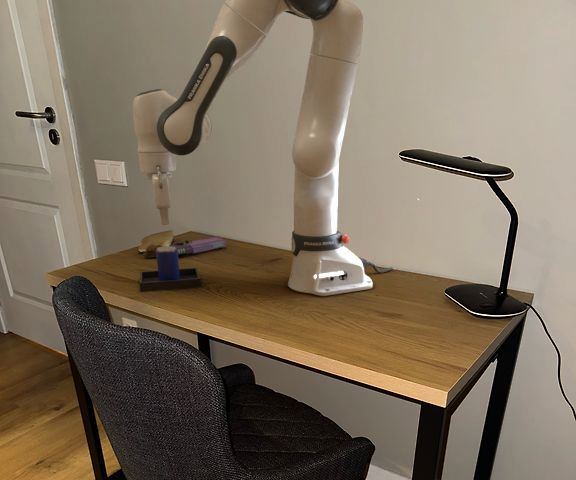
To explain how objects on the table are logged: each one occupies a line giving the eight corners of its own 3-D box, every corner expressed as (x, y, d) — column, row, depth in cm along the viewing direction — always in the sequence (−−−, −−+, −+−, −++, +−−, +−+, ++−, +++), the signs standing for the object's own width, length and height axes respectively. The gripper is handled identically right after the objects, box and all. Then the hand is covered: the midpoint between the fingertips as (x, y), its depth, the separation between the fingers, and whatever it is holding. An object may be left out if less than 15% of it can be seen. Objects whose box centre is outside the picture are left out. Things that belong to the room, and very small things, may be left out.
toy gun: (208, 243, 194) (226, 249, 188) (158, 253, 182) (175, 259, 176) (208, 231, 193) (226, 236, 186) (157, 240, 181) (174, 246, 174)
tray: (197, 275, 162) (197, 267, 161) (201, 287, 153) (200, 278, 152) (140, 279, 159) (139, 271, 158) (140, 291, 150) (139, 283, 149)
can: (179, 277, 159) (176, 245, 154) (180, 283, 154) (177, 250, 150) (159, 279, 158) (155, 246, 153) (159, 285, 153) (155, 252, 149)
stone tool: (173, 255, 177) (177, 237, 199) (170, 242, 175) (175, 225, 197) (136, 262, 177) (144, 243, 199) (132, 249, 175) (141, 231, 197)
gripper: (172, 168, 133) (179, 228, 140) (169, 158, 151) (175, 212, 158) (144, 169, 132) (153, 230, 139) (144, 159, 150) (151, 213, 156)
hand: (164, 220), depth 148 cm, fingers open, 8 cm apart
